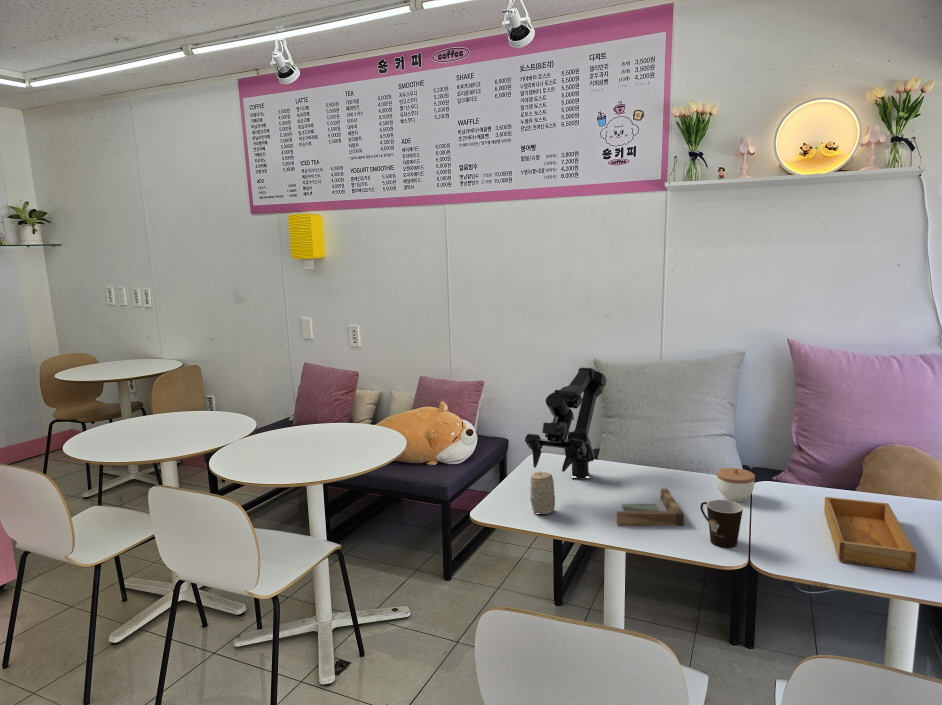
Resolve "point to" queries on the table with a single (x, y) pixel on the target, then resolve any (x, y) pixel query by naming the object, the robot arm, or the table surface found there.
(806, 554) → the table surface
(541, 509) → the carving
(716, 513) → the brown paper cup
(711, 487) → the table surface
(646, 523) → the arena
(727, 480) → the lidded jar
